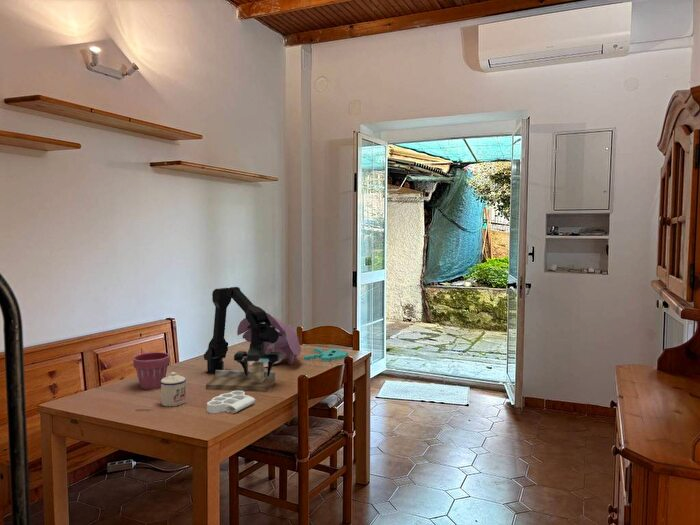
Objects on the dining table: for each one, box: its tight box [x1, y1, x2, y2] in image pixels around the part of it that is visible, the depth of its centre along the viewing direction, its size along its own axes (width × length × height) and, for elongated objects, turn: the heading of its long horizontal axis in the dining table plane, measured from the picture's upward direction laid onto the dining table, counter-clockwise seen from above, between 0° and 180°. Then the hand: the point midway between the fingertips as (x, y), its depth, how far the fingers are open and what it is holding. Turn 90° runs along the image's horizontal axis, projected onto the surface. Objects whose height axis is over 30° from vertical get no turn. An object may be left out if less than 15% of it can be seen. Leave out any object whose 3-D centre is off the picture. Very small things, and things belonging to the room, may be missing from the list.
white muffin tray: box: [206, 390, 256, 414], centre depth 184 cm, size 3×18×15 cm
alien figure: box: [303, 347, 349, 362], centre depth 259 cm, size 20×2×20 cm
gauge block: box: [250, 362, 265, 382], centre depth 210 cm, size 4×6×7 cm, turn 176°
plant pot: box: [132, 351, 171, 390], centre depth 207 cm, size 14×14×13 cm
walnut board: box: [205, 369, 276, 392], centre depth 209 cm, size 26×13×4 cm, turn 86°
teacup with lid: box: [160, 371, 187, 408], centre depth 188 cm, size 12×9×12 cm
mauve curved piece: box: [236, 312, 302, 368], centre depth 246 cm, size 35×24×28 cm
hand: (257, 376), depth 210 cm, fingers open, 9 cm apart
